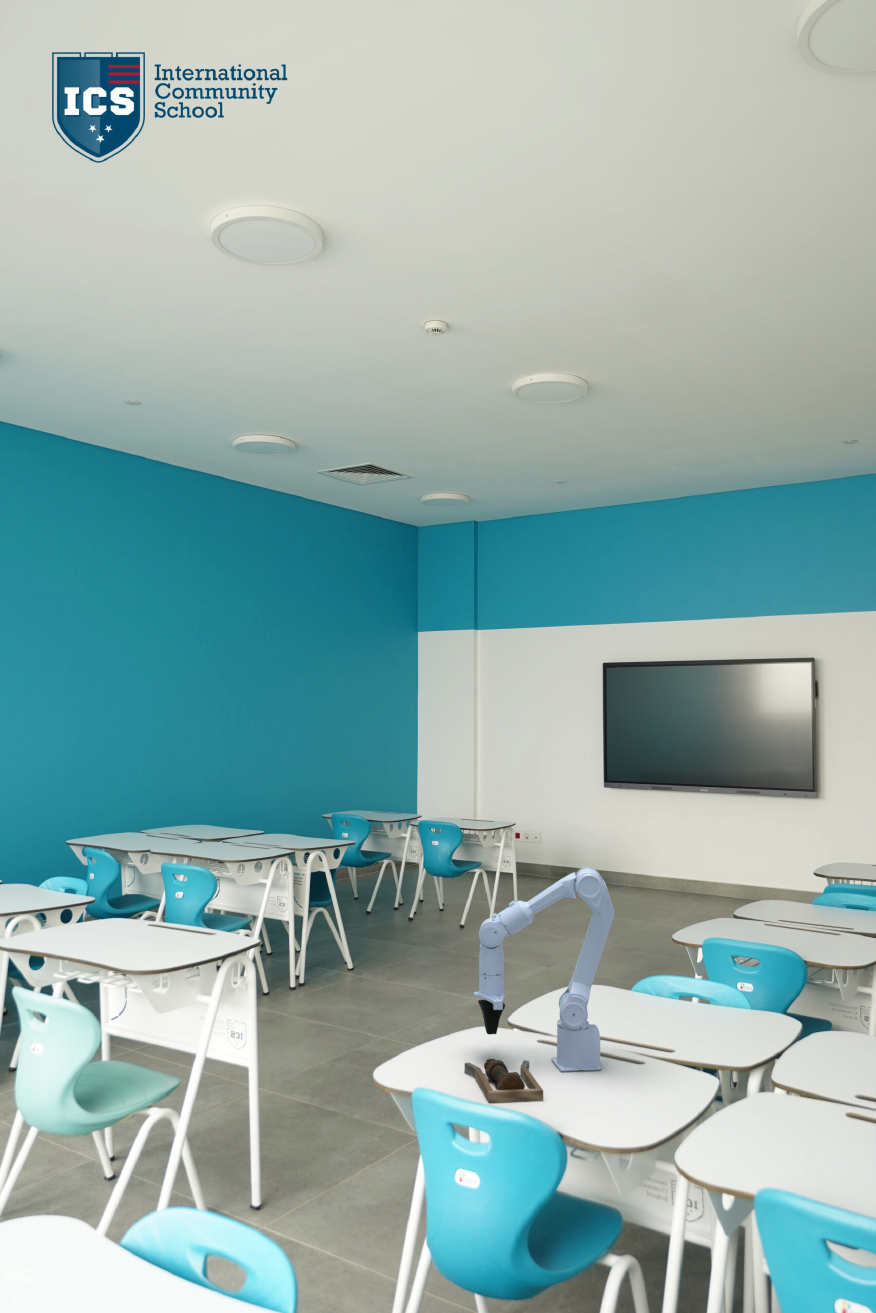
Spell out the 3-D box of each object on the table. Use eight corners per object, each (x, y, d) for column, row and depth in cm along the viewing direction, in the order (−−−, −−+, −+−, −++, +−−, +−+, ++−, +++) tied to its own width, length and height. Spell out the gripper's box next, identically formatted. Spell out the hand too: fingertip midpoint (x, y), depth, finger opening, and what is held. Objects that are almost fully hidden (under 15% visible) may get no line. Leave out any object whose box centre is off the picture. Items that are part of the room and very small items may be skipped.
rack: (528, 1069, 213) (528, 1059, 213) (550, 1100, 195) (551, 1089, 195) (464, 1071, 210) (464, 1062, 210) (480, 1103, 193) (481, 1093, 193)
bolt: (493, 1082, 209) (515, 1106, 195) (474, 1072, 209) (495, 1095, 194) (506, 1057, 211) (529, 1079, 196) (487, 1047, 210) (509, 1068, 195)
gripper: (468, 965, 226) (468, 1024, 224) (481, 981, 211) (480, 1044, 210) (497, 964, 227) (497, 1023, 226) (511, 980, 212) (511, 1042, 211)
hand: (491, 1033), depth 218 cm, fingers closed
